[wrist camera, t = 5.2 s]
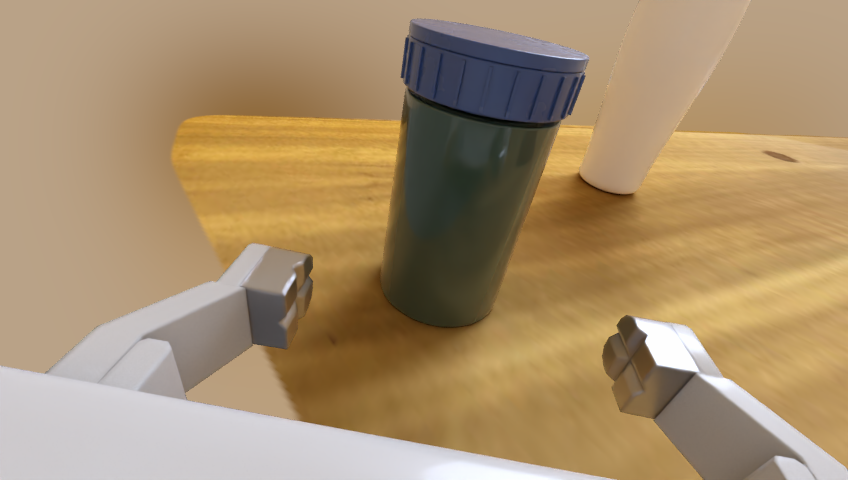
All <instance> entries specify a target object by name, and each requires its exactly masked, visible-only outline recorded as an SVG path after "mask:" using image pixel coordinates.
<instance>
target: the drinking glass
mask: <svg viewBox="0 0 848 480" xmlns="http://www.w3.org/2000/svg"><path fill="white" fill-rule="evenodd" d="M751 1H752V0H639V2H638V4H637V6H636V8H635V11H634V13H633V15H632V18H631V20H630V23H629V25H628V28H627V30H626V33H625V35H624V38H623V41H622V44H621V46H620V49H619V52H618V55H617V58H616V61H615V65H614V68H613V71H612V74H611V77H610V80H609V83H608V86H607V89H606V93H605V95H604V99H603V102H602V105H601V108H600V111H599V114H598V117H597V120H596V123H595V126H594V129H593V132H592V135H591V138H590V141H589V144H588V147H587V150H586V152H585V155H584V157H583V160H582V162H581V164H580V167H579V174H580V176H581V177H582V178H583V179H584V180H585V181H586V182H587V183H589V184H590V185H592V186H594V187H596V188H599V189H601V190H604V191H607V192H611V193H615V194H632V193H634V192H636V191H637V190H638V189H639V188H640V187H641V185H642V183H643V181H644V179H645V178H646V176H647V174H648V172H649V170H650V169H651V167H652V165H653V164H654V162H655V161H656V159H657V157H658V156H659V154H660V153H661V151H662V150H663V148H664V147H665V145H666V143H667V142H668V140H669V139H670V137H671V136H672V134H673V133H674V131H675V129H676V128H677V126H678V125H679V123H680V122H681V120H682V119H683V117H684V116H685V114H686V113H687V111H688V110H689V108H690V106H691V105H692V103H693V102H694V100H695V99H696V97H697V96H698V94H699V93H700V91H701V89H702V88H703V87H704V85H705V83H706V82H707V80H708V79H709V77H710V76H711V74H712V73H713V71H714V69H715V67H716V66H717V64H718V63H719V61H720V59H721V58H722V56H723V54H724V53H725V51H726V49H727V47H728V46H729V44H730V42H731V40H732V38H733V36H734V35H735V32H736V31H737V29H738V27H739V25H740V23H741V21H742V19H743V17H744V15H745V13H746V11H747V9H748V7H749V5H750V3H751Z"/></svg>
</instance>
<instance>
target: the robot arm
mask: <svg viewBox="0 0 848 480" xmlns="http://www.w3.org/2000/svg"><path fill="white" fill-rule="evenodd" d="M312 268H313V257H312V256H311V255H310V254H305V253H300V252H296V251H291V250H286V249H282V248H277V247H271V246H266V245H261V244H257V243H252V244H249V245H248V246H247V247H246V248H245V249H244V250H243V252H242V253H241V254H240V255H239V256H238V257H237V258H236V260H235V261H234V262H233V263H232V264H231V265H230V267H229V268H228V269H227V270H226V271H225V272H224V273H223V275H222V276H221V277H220V278H219V279H218V280H217V282H212V281H209V282H206V283H204V284H201V285H199V286H196V287H194V288H191V289H189V290H186V291H184V292H181V293H179V294H177V295H174V296H171V297H169V298H166V299H164V300H161V301H159V302H156V303H154V304H151V305H149V306H146V307H144V308H142V309H139V310H136V311H134V312H131V313H129V314H126V315H124V316H121V317H119V318H116V319H114V320H112V321H109V322H107V323H104V324H101V325H99V326H97V327H96V328H94V329H93V330H92V331H91V332H90V333H89V334H88V335H87V336H86V337H84V338H83V339H82V340H81V341H80V342H79V343H78V344H77V345H76V346H74V347H73V348H72V349H71V350H70V351H69V352H68V353H67V354H66V355H65V356H63V357H62V358H61V359H60V360H59V361H58V362H57V363H56V364H55V365H54V366H52V367H51V368H50V369H49V370H48V371H47V372H46V373H45V374H43V373H38V372H32V371H27V370H21V369H16V368H10V367H5V366H0V480H615V479H609V478H604V477H598V476H593V475H588V474H582V473H577V472H571V471H566V470H560V469H555V468H549V467H544V466H539V465H533V464H528V463H522V462H517V461H512V460H506V459H501V458H496V457H490V456H485V455H480V454H474V453H469V452H463V451H458V450H453V449H447V448H442V447H437V446H431V445H426V444H420V443H415V442H410V441H404V440H399V439H394V438H388V437H383V436H377V435H372V434H367V433H361V432H356V431H350V430H345V429H340V428H334V427H329V426H323V425H318V424H313V423H307V422H302V421H296V420H291V419H285V418H280V417H275V416H270V415H263V414H259V413H253V412H247V411H242V410H237V409H232V408H226V407H221V406H216V405H210V404H205V403H199V402H194V401H189V400H187V398H186V395H185V393H186V392H187V391H189V390H190V389H191V388H193V387H194V386H196V385H197V384H198V383H200V382H201V381H203V380H204V379H206V378H207V377H209V376H210V375H212V374H213V373H214V372H216V371H217V370H219V369H220V368H221V367H223V366H224V365H226V364H227V363H229V362H230V361H232V360H233V359H234V358H236V357H237V356H239V355H240V354H242V353H243V352H244V351H246V350H247V349H249V348H250V347H251V346H252V344H257V345H263V346H270V347H276V348H282V349H288V347H289V345H290V343H291V341H292V339H293V337H294V335H295V334H296V332H297V330H298V319H300V318H302V317H303V316H305V313H306V311H307V309H308V307H309V304H310V300H311V297H312V290H313V281H312V279H311V278H310V277H309V274H310V272H311V270H312ZM617 329H618V332H619V333H617V334H615V335H613V336H611V337H609V338H608V340H607V342H606V344H605V345H604V349H603V355H602V358H603V366H604V368H605V371H606V373H607V374H608V375H609V376H610V377H611V378H612V379H613V380H614V381H615V382H614V384H613V386H612V391H613V394H614V396H615V399H616V402H617V404H618V407H619V410H620V412H624V413H628V414H633V415H637V416H642V417H647V418H651V419H655V420H654V422H655V423H656V424H657V425H658V426H659V428H660V429H661V430H662V431H663V432H664V433H665V435H666V436H667V437H668V438H669V439H670V440H671V442H672V443H673V444H674V445H675V446H676V448H677V449H678V450H679V451H680V452H681V453H682V455H683V456H684V457H685V458H686V459H687V460H688V462H689V463H690V464H691V465H692V466H693V467H694V469H695V470H696V471H697V472H698V473H699V475H700V476H701V477H702V478H703V479H704V480H848V470H847V468H846V467H845V466H843V465H842V464H841V463H839V462H838V461H837V460H835V459H834V458H833V457H832V456H830V455H829V454H828V453H826V452H825V451H824V450H822V449H821V448H820V447H818V446H817V445H816V444H814V443H813V442H812V441H811V440H809V439H808V438H807V437H805V436H804V435H803V434H801V433H800V432H799V431H797V430H796V429H795V428H793V427H792V426H791V425H789V424H788V423H787V422H786V421H784V420H783V419H782V418H780V417H779V416H778V415H776V414H775V413H774V412H772V411H771V410H770V409H768V408H767V407H766V406H765V405H763V404H762V403H761V402H759V401H758V400H757V399H755V398H754V397H753V396H751V395H750V394H749V393H747V392H746V391H745V390H744V389H742V388H741V387H740V386H738V385H737V384H736V383H734V382H733V381H732V380H730V379H725V378H724V377H723V376H722V374H721V373H720V371H719V370H718V368H717V367H716V365H715V364H714V362H713V361H712V359H711V358H710V356H709V355H708V353H707V352H706V350H705V349H704V347H703V346H702V344H701V343H700V341H699V340H698V338H697V337H696V335H695V334H694V332H693V331H692V329H690V328H689V327H687V326H686V325H681V324H675V323H670V322H661V321H655V320H650V319H645V318H639V317H634V316H628V315H626V316H624V317H623V318H621V320H620V321H619V323H618V324H617Z"/></svg>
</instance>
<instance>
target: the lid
mask: <svg viewBox="0 0 848 480" xmlns="http://www.w3.org/2000/svg"><path fill="white" fill-rule="evenodd" d="M588 61H589V57H588V56H587V55H586V54H584V53H582V52H579V51H576V50H574V49H571V48H568V47H564V46H561V45H558V44H554V43H550V42H547V41H542V40H539V39H535V38H531V37H527V36H522V35H518V34H513V33H509V32H504V31H500V30H494V29H490V28H484V27H479V26H473V25H468V24H461V23H456V22H449V21H441V20H432V19H412V20H411V21H410V28H409V35H408V37H407V38H406V40H405V48H404V55H403V64H402V71H401V78H403V81H404V84H405V85H406V86H407V87H408V88H409V89H411V90H412V91H414V92H415V93H417V94H418V95H421V96H423V97H425V98H427V99H429V100H431V101H434V102H436V103H439V104H442V105H445V106H448V107H451V108H454V109H457V110H461V111H465V112H469V113H473V114H477V115H481V116H486V117H491V118H497V119H502V120H509V121H518V122H529V123H549V122H556V121H561V120H563V119H565V118H566V117H567V116H568V115H571V113H572V111H573V108H574V105H575V103H576V100H577V97H578V95H579V92H580V90H581V87H582V84H583V82H584V79H585V75H584V74H585V72H584V71H585V69H586V66H587V63H588Z"/></svg>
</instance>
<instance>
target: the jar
mask: <svg viewBox="0 0 848 480" xmlns="http://www.w3.org/2000/svg"><path fill="white" fill-rule="evenodd" d="M560 124H561V121H556V122H549V123H529V122H518V121H509V120H502V119H497V118H491V117H486V116H481V115H477V114H473V113H469V112H465V111H461V110H457V109H454V108H451V107H448V106H445V105H442V104H439V103H436V102H434V101H431V100H429V99H427V98H425V97H423V96H421V95H418V94H417V93H415V92H414V91H412V90H411V89H409V88H408V87H407V86H406V89H405V96H404V104H403V111H402V119H401V126H400V133H399V141H398V148H397V156H396V163H395V171H394V178H393V186H392V193H391V201H390V208H389V216H388V223H387V231H386V238H385V245H384V253H383V260H382V268H381V275H380V283H381V287H382V290H383V292H384V294H385V296H386V297H387V299H388V300H389V301H390V303H391V304H392V305H393V306H394V307H395V308H397V309H398V310H399V311H400V312H402V313H403V314H405V315H407V316H408V317H410V318H412V319H414V320H417V321H419V322H422V323H425V324H429V325H433V326H439V327H461V326H466V325H470V324H473V323H475V322H477V321H479V320H481V319H482V318H484V317H485V316H486V315H487V314H488V313H489V312H490V311H491V310H492V308H493V306H494V303H495V301H496V298H497V295H498V292H499V290H500V287H501V284H502V282H503V279H504V276H505V273H506V271H507V268H508V265H509V263H510V260H511V257H512V254H513V252H514V249H515V246H516V244H517V241H518V238H519V235H520V233H521V230H522V227H523V225H524V222H525V219H526V216H527V214H528V211H529V208H530V206H531V203H532V200H533V197H534V195H535V192H536V189H537V187H538V184H539V181H540V178H541V176H542V173H543V170H544V168H545V165H546V162H547V159H548V157H549V154H550V151H551V149H552V146H553V143H554V140H555V138H556V135H557V132H558V130H559V127H560Z"/></svg>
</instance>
